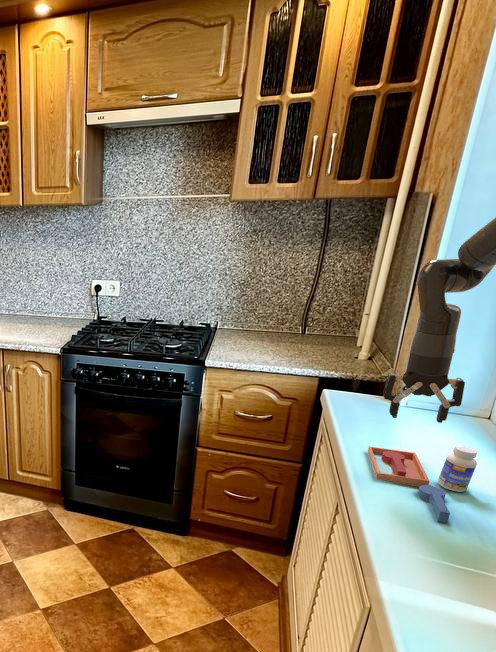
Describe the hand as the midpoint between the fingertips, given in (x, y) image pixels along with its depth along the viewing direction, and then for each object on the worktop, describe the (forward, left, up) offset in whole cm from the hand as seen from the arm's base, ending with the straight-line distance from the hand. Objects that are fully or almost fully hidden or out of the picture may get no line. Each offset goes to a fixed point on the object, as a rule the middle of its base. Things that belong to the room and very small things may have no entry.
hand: (416, 419), depth 122 cm
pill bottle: (-9, +4, -15) cm, 18 cm away
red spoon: (0, -4, -15) cm, 15 cm away
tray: (-1, -4, -15) cm, 16 cm away
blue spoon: (0, +13, -15) cm, 20 cm away
